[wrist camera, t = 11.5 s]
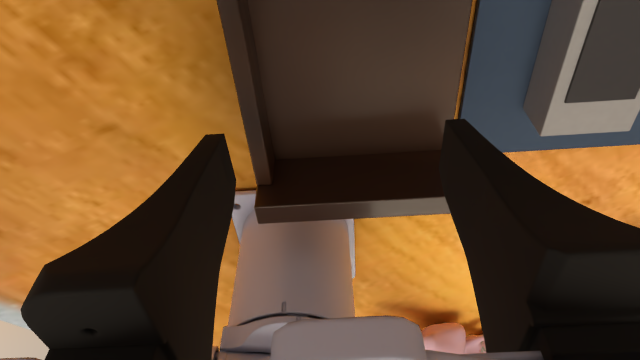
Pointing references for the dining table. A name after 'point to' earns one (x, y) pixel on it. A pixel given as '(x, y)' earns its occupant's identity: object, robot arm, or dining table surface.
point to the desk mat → (515, 80)
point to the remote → (586, 68)
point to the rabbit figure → (452, 339)
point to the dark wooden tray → (346, 102)
